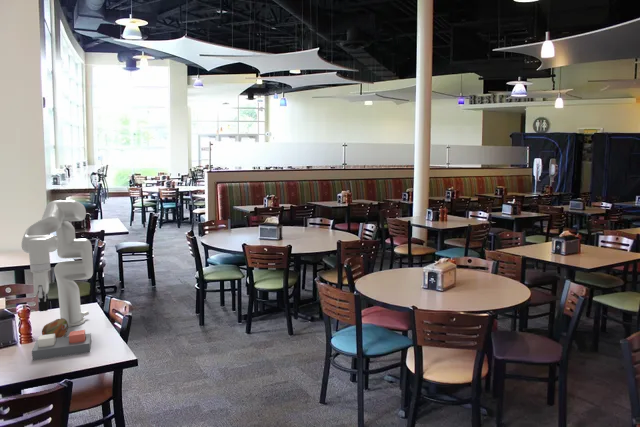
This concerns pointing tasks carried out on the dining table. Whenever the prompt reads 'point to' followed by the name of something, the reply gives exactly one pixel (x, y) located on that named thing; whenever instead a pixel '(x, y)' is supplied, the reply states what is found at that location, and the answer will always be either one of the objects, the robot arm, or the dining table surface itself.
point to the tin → (56, 328)
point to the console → (61, 348)
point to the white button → (46, 340)
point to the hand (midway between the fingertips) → (44, 309)
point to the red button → (77, 336)
